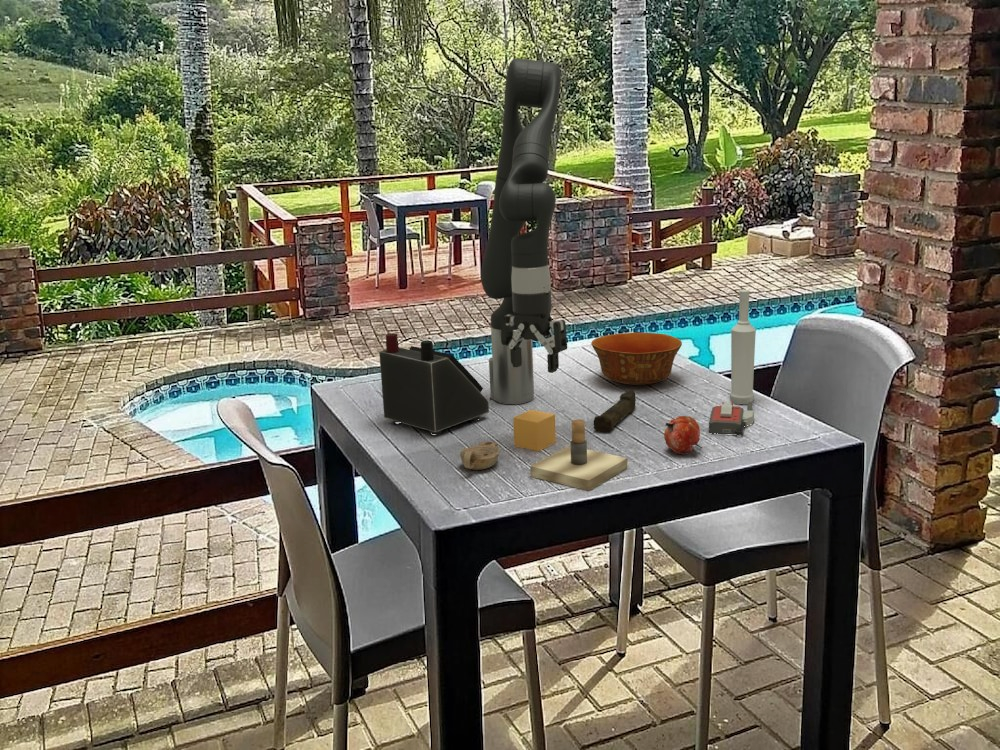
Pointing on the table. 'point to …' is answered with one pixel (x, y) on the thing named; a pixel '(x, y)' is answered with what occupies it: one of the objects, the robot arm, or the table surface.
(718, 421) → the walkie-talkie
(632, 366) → the bowl
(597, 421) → the hand tool
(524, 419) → the mustard yellow cube
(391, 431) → the table surface
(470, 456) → the oil lamp
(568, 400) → the table surface
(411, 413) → the voltmeter
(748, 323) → the bottle
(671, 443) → the pomegranate
